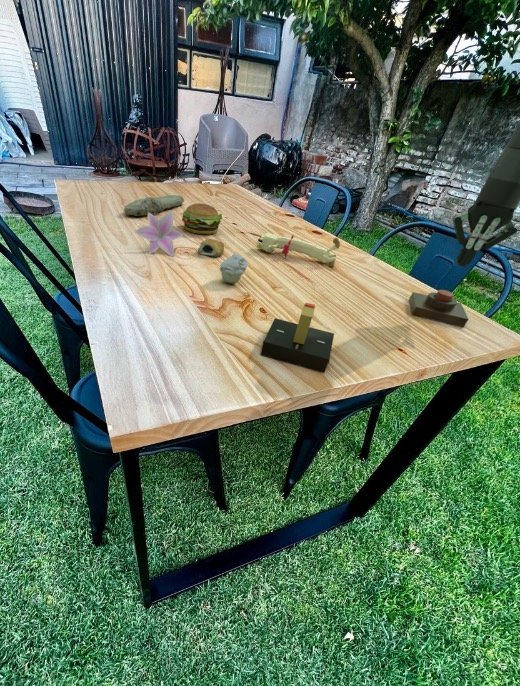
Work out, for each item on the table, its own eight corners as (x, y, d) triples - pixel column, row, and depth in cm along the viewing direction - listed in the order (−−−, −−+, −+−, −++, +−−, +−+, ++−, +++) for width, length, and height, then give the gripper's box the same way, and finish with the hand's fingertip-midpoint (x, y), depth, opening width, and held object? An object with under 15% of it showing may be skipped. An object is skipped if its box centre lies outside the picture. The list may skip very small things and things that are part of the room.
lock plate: (329, 346, 69) (334, 332, 67) (324, 373, 62) (329, 358, 60) (271, 331, 71) (275, 317, 69) (260, 355, 64) (263, 340, 62)
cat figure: (332, 263, 112) (258, 241, 114) (343, 235, 106) (265, 213, 108) (330, 274, 104) (252, 250, 107) (342, 244, 98) (259, 220, 101)
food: (175, 232, 115) (175, 205, 110) (187, 222, 125) (188, 197, 120) (215, 239, 114) (217, 212, 108) (224, 228, 124) (226, 204, 119)
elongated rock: (190, 208, 146) (169, 205, 149) (190, 194, 143) (169, 190, 146) (140, 218, 120) (117, 214, 123) (139, 201, 117) (115, 197, 120)
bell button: (448, 298, 86) (452, 291, 85) (451, 304, 84) (455, 297, 83) (433, 295, 87) (437, 288, 86) (435, 300, 84) (439, 293, 83)
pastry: (209, 245, 108) (210, 232, 106) (228, 250, 107) (230, 237, 104) (196, 253, 101) (197, 240, 99) (217, 259, 100) (219, 245, 97)
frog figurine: (248, 286, 88) (253, 258, 83) (224, 288, 85) (228, 260, 80) (237, 276, 92) (241, 249, 87) (213, 279, 89) (216, 251, 84)
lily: (130, 251, 100) (131, 225, 91) (150, 226, 104) (153, 199, 96) (167, 272, 100) (171, 248, 92) (185, 247, 105) (191, 221, 96)
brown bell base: (456, 310, 90) (464, 296, 88) (463, 327, 83) (473, 312, 80) (408, 299, 93) (415, 285, 90) (411, 315, 85) (419, 299, 83)
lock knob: (303, 344, 63) (312, 315, 59) (292, 341, 63) (301, 313, 59) (307, 332, 66) (315, 304, 63) (297, 329, 67) (305, 301, 63)
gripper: (479, 174, 67) (432, 263, 78) (554, 186, 65) (495, 277, 76) (471, 169, 72) (429, 254, 84) (540, 181, 70) (487, 266, 82)
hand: (460, 265), depth 80 cm, fingers closed
